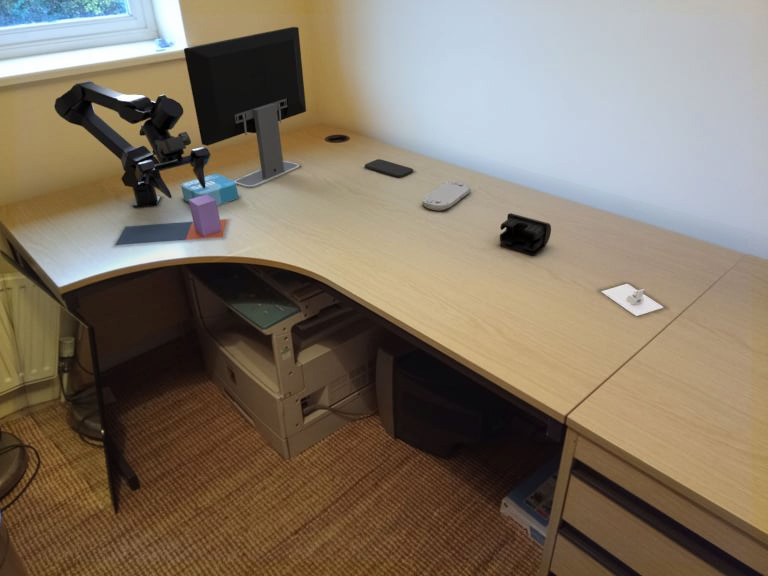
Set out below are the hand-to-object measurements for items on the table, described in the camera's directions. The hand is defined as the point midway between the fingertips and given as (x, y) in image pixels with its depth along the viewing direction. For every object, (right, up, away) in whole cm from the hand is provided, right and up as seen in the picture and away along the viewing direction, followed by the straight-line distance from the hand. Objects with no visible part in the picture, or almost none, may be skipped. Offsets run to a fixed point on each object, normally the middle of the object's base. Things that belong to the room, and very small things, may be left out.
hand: (188, 192), depth 150 cm
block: (+5, -10, -1) cm, 11 cm away
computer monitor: (+14, +11, +33) cm, 38 cm away
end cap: (+83, -15, -11) cm, 85 cm away
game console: (+68, 0, +13) cm, 69 cm away
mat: (-4, -10, 0) cm, 11 cm away
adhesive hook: (+100, -27, -32) cm, 109 cm away
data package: (+5, +1, +13) cm, 14 cm away
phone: (+52, +13, +34) cm, 63 cm away
